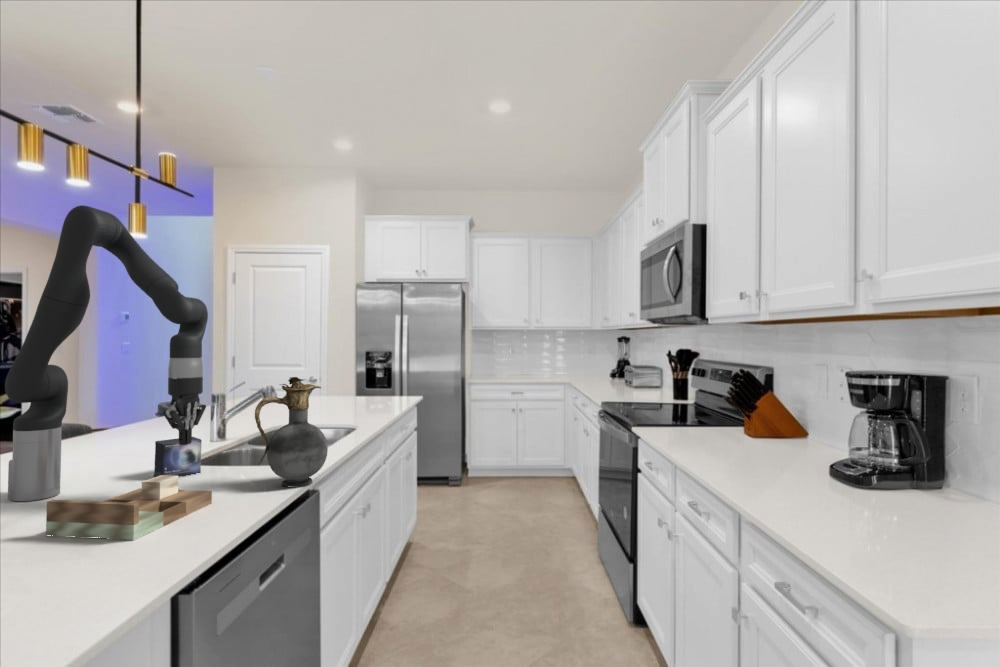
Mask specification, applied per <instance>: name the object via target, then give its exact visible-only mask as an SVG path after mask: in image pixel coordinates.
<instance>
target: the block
mask: <svg viewBox="0 0 1000 667" xmlns="http://www.w3.org/2000/svg"><path fill="white" fill-rule="evenodd" d="M179 478H180V477H179V476H170V475H160V476H157V477H154V476H153V477H152V478H149V479H146V480H143V481H141V489H142V499H152V500H160V499H163V498H165V497H168V496H170V495H173V494H175V493H178V490H179Z"/></svg>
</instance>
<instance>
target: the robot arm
mask: <svg viewBox="0 0 1000 667" xmlns="http://www.w3.org/2000/svg"><path fill="white" fill-rule="evenodd" d="M58 240H59V241H58V246H57V250H56V254H55V258H54V261H53V263H52V266H51V268H50V273H49V276H48V278H47V281H46V283H45V284H46V285H45V286H44V289H43V291H42V293H41V295H40V298H39V302H38V304H37V307H36V311H35V314H34V316H33V319H32V321H31V324H30V327H29V330H28V332H27V333H26V336H25V338H24V341H23V344H22V346H21V347H20V349H19V351H18V353H17V355H16V357H15V359H14V361H13V363H12V365H11V366H10V368H9V371H8V373H7V375H6V377H5V383H4V391H5V395H6V396H7V398H8V399H9V400H10V401H12V402H13V403H17V404H26V403H30V406H29V407H28V409H27V410H26V411H24V412H23V413H22V414H20V415H18V416H17V417H16V418H14V420H13V424H12V458H11V459H10V460H8V474H7V477H8V478H7V499H8V500H11V501H12V502H32V501H39V500H44V499H48V498H52V497H55V496H58V495H59V494H60V493H61V477H62V476H61V474H62V473H61V472H62V471H61V470H62V428H63V427H62V424H63V419H64V417H65V416H66V413H67V406H68V393H69V380H68V375H67V373H66V371H65V370H64V369H63V368H62V367H60V366H59V365H56V364H49V363H50V360H51V358H52V356H53V355H54V353H55V351H56V350H57V349H58V348H59V346H60V345H62V344H63V343H64V341H65V340H67V339H68V337H70V336H71V335H72V334H74V332H75V331H76V330H77V328H78V327H79V326H80V325H81V323H82V321H83V319H84V316H86V315H85V314H86V313H87V309H88V306H89V303H90V299H91V290H90V285H89V280H88V279H89V278H88V274H87V262H88V259H89V255H90V253H91V250H92V248H93V246H95V247H98V248H99V247H100V248H103V249H105V250H106V251H108V252H109V253H111V254H112V255H113V256H115V257H116V258H117V259H118V260H119V261H120V262H121V264H122V265H123V267H124V268H125V271H126V273H127V275H128V276H129V277H130V279H131V281H132V282H133V283H134V284H135V285H136V286H137V287H138V288H139V289H140V290H141V291H143V293H144V294H146V296H148V297H149V298H151V299H152V302H153V303H154V305H155V307H156V308H157V309H158V311H159V313H161V315H162V317H164V319H165V320H168V321H169V322H170V323H173V324H176V325H179V328H178V333H177V334H175V335H174V334H173V336H171V337H170V339H169V340H170V341H169V360H168V368H167V375H168V377H167V394H168V396H171V400H170V407H169V408H168V409H164V410H163V412H162V414H163V416H164V417H165V419H166V421H167V422H168V423H169V425H170V426H171V428H172V429H174V430H175V429H176V430H177V431H178V438H179V444H180V445H188V444H191V440H192V437H193V436H192V434H193V429H194V427H195V426H198V425H199V423H200V421H201V420H202V419H201V418H202V417H203V415H204V412H205V410H206V408H207V405H206V404H202V403H201V402H200V401H201V399H200V396H199V395H201V394H203V390H204V389H203V388H204V387H203V385H204V382H203V381H204V374H203V373H204V366H203V365H204V364H203V338H204V336H205V332H206V328H207V325H208V324H207V323H208V319H209V318H208V317H209V312H208V308H207V305H206V304H205V303H204V301H203V300H202V299H199V298H195V297H189V296H185V295H183V294H182V293H181V292H180V291H179V289H180V288H179V284H178V283H177V281H176V280H175V279H174V278H173V277H172V276H171V275H170V274H169V273H167V272H166V271H165V270H164V269H163V268H162V266H160V265H159V264H157V262H156V261H155V260H154V259H152V258H151V256H150V255H149V254H148V253H146V251H145V250H144V249H143V248H142V247H141V245H140V244H139V243H138V242H137V241H136V240H135V239H134V237H133V236H132V235H131V232H130V231H129V230H128V229H127V228H126V227H125V224H123V222H122V221H121V220H120V219H119V218H118V217H117V216H115V215H114V214H112V213H110V212H107V211H105V210H102V209H99V208H95V207H92V206H88V205H77V206H74V207H72V209H71V210H70V211H68V212H67V215H66V216H65V218H64V221H63V224H62V227H61V231H60V236H59V239H58Z"/></svg>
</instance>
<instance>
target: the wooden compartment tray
mask: <svg viewBox="0 0 1000 667" xmlns="http://www.w3.org/2000/svg"><path fill="white" fill-rule="evenodd" d="M212 494H213V492H212V490H197V489H196V490H195V489H193V490H190V489H189V490H188V489H178V493H175V494H173V495H170V496H168V497H165V498H163V499H160V500H152V499H142V487H141V488H137V489H135V490H134V489H133V490H132V491H128V492H127V493H122V494H120V495H117V496H115V497H112V498H109V499H106V500H104V501H103V500H102V501H97V500H96V501H91V500H69V499H51V500H47V501H46V519H45V520H46V521H45V522H46V523H45V526H46V527H45V536H46V535H51V536H52V535H53V536H75V537H98V538H99V537H100V538H109V539H108V540H113V539H126V540H125V541H135V540H137V538H138V539H139V538H142V537H144V536H145V534H146V535H148V534H150V533H152V532H154V531H156V530H158V529H161V528H162V527H165V526H167V525H169V524H171V523H174V522H176V521H177V520H179V519H182V518H184V517H186V516H188V515H190V514H192V513H194V512H197V511H199V510H201V509H203V508H205V507H208V506H209V505H211V504H212V500H213V498H212V497H213V495H212ZM149 532H150V533H149ZM147 533H148V534H147ZM143 535H144V536H143ZM141 536H142V537H141Z"/></svg>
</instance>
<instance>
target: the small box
mask: <svg viewBox="0 0 1000 667" xmlns="http://www.w3.org/2000/svg"><path fill="white" fill-rule="evenodd" d="M154 442H155V445H154V446H155V447H154V449H155V450H154V451H155V452H154V473H153V478H154V477H157V476H160V475H170V476H179V478H181V477H180V476H183V477H187V476H186V475H188V476H192V475H191V474H194V475H197V474H196V473H200V474H201V464H202V461H201V460H202V443H203V442H202V439H201V438H198V437H195V436H192V440H191V444H188V445H180V444H179V437H178V438H171V439H162V440H155V441H154Z"/></svg>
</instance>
